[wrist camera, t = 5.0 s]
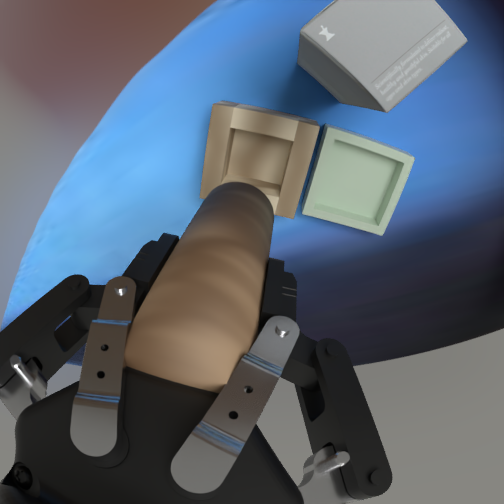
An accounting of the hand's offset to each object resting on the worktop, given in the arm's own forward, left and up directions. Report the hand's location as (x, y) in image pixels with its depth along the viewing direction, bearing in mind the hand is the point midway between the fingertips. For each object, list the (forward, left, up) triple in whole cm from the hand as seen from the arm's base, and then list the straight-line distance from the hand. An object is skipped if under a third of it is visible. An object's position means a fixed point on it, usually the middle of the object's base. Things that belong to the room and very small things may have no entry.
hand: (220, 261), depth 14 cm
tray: (-11, 0, -20) cm, 22 cm away
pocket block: (0, 0, -20) cm, 20 cm away
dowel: (0, 0, -5) cm, 5 cm away
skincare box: (-6, -13, -20) cm, 25 cm away
